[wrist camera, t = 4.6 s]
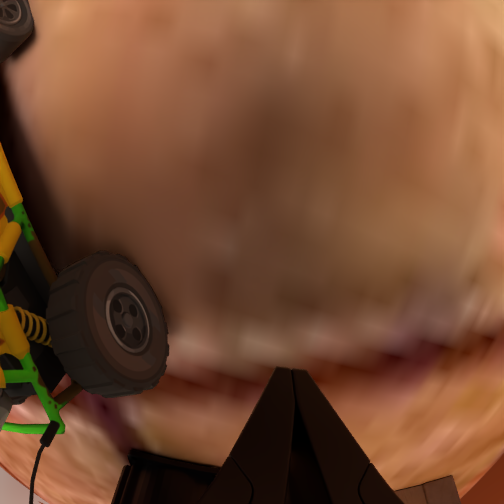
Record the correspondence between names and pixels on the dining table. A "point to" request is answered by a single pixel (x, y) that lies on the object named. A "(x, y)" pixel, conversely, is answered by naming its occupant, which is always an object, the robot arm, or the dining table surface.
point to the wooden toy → (431, 493)
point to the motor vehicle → (66, 306)
